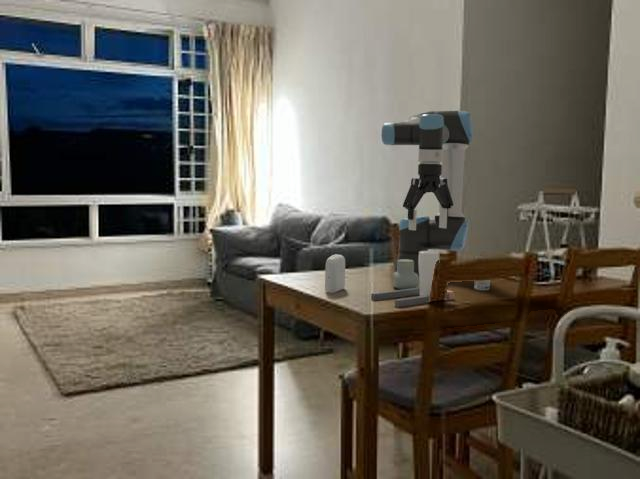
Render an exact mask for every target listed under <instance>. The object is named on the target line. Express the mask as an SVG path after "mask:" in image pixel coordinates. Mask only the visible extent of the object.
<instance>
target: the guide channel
mask: <svg viewBox="0 0 640 479" xmlns="http://www.w3.org/2000/svg"><path fill="white" fill-rule="evenodd" d="M446 290H447V294H446V299H447V300H446V301H452V300H454V298H455V296H454V295H455V291H453V290H449V289H446ZM419 293H420V287H416V288H411V289H396V290H389V291H381V292H372V293H371V294H370V295H371V296H370V299H371V300H372V301H378V300H379V301H380V300H387V299H388V300H389V299H395V298H397V299H395V300H394V307H396V308H402V307H408V306H417V305H423V304H429V303H428V301H429V297H430V295H427V296H420V294H419ZM417 295H418V296H417ZM410 296H411V297H410ZM412 296H413V297H412ZM401 297H406V298H401ZM407 297H408V298H407ZM398 298H400V299H398Z"/></svg>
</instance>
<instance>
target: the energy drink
mask: <svg viewBox="0 0 640 479" xmlns="http://www.w3.org/2000/svg"><path fill="white" fill-rule="evenodd" d="M485 257H491V255H488V254H476V256H475V259H477V258H485ZM491 258H492V257H491ZM473 284H474V285H473V288H474V290H476V291H486V292H487V291H489V290H490V288H491V287H490V286H491V279H490V280H484V281H475V280H474V283H473Z"/></svg>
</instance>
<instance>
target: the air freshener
mask: <svg viewBox="0 0 640 479" xmlns="http://www.w3.org/2000/svg"><path fill="white" fill-rule="evenodd" d="M396 261H397V260H396ZM391 284H392V286H393V287H394V288H396V290H403V289H411V288H418V286H419V277H418V275H417V274H416V273H415V272H414V261H413V260H408V259H400V260H398V261H397V272H395V273H394V272H393V273H392V275H391Z"/></svg>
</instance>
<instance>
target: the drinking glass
mask: <svg viewBox="0 0 640 479" xmlns="http://www.w3.org/2000/svg"><path fill="white" fill-rule="evenodd" d="M438 260H439V261H440V252H439V251H437V250H435V251H434V250H428V251H419V259H418V267H419V285H418V286H419V287H418V288H420V293H419V297H420V296H427V295H430V291H431V285H432V280H433V274H434V268H435V264H436V262H437V261H438Z"/></svg>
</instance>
